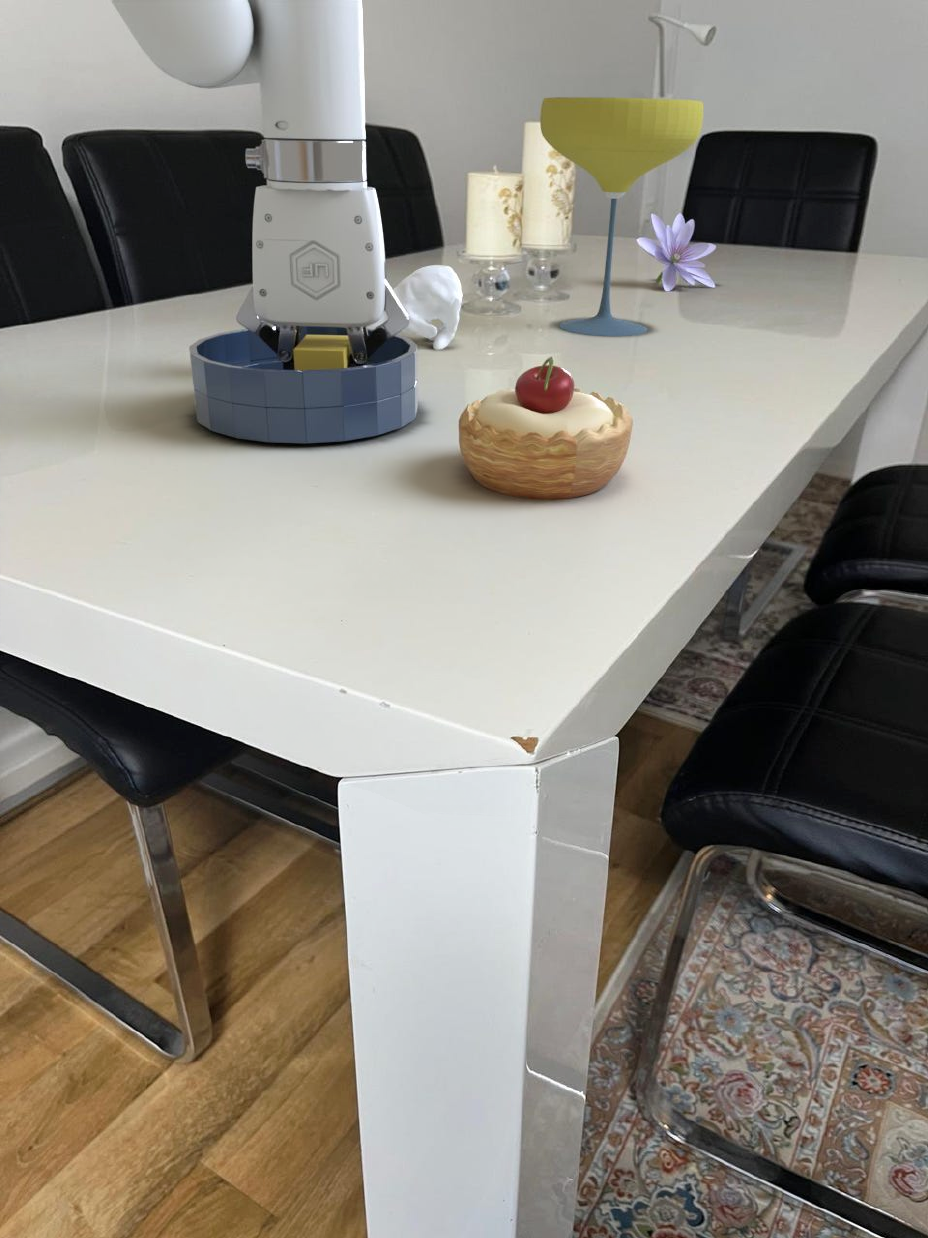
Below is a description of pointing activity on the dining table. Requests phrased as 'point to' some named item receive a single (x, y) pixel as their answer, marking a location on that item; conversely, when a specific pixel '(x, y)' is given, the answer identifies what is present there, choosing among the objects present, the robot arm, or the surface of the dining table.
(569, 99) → the cocktail glass
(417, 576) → the dining table surface
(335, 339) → the sponge
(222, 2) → the robot arm
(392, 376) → the bowl
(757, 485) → the dining table surface
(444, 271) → the white lumpy piece
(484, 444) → the pastry
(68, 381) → the dining table surface
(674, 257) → the water lily
